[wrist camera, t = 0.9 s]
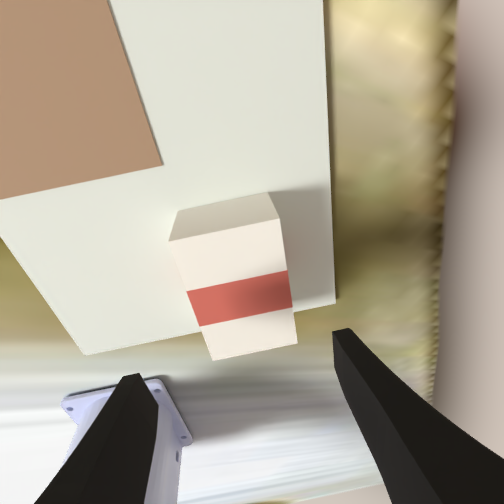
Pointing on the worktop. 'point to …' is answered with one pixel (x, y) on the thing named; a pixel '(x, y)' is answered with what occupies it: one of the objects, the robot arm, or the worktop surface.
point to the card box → (235, 274)
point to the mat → (157, 149)
